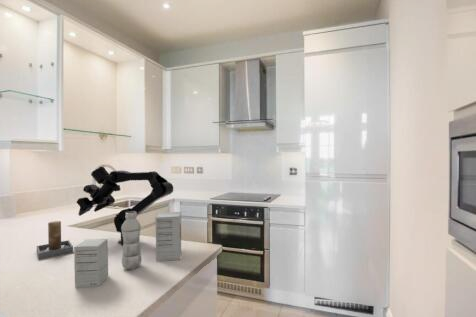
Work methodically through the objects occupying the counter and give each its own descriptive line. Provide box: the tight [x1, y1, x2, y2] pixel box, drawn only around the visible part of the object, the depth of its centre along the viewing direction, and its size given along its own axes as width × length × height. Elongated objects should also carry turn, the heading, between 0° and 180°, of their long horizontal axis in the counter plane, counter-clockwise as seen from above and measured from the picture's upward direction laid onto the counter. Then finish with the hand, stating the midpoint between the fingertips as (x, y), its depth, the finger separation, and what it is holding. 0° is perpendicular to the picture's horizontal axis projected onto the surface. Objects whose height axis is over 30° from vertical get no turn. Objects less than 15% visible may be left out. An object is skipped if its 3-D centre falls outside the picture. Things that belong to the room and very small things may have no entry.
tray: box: [36, 239, 74, 260], centre depth 109 cm, size 12×12×2 cm
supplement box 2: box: [155, 211, 182, 262], centre depth 103 cm, size 10×9×17 cm
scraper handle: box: [44, 220, 65, 252], centre depth 109 cm, size 6×6×12 cm
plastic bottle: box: [121, 211, 142, 270], centre depth 92 cm, size 6×7×20 cm
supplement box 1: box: [73, 238, 109, 288], centre depth 82 cm, size 7×7×13 cm
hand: (87, 213), depth 126 cm, fingers open, 9 cm apart
